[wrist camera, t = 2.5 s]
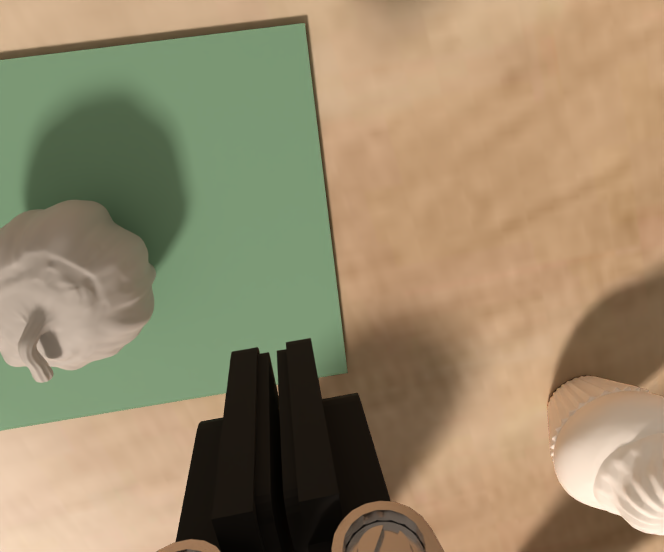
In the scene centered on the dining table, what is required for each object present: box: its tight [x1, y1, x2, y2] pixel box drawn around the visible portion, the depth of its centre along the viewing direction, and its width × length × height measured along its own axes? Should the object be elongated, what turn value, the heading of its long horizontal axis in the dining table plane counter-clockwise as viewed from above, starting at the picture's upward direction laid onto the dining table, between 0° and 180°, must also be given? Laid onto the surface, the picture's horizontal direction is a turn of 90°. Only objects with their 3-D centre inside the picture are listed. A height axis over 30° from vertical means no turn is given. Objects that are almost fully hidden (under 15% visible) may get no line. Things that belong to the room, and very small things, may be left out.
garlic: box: [0, 200, 156, 383], centre depth 15 cm, size 6×5×5 cm
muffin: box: [547, 375, 664, 535], centre depth 20 cm, size 6×6×7 cm
